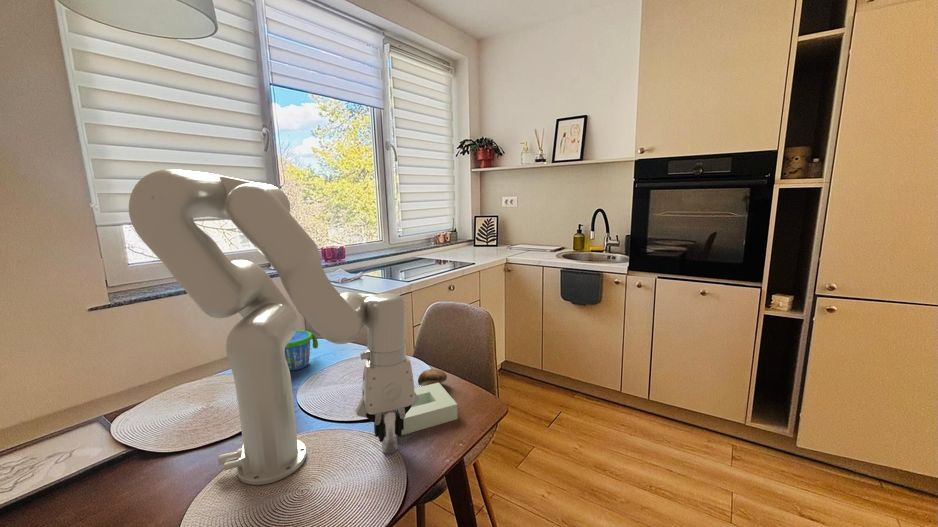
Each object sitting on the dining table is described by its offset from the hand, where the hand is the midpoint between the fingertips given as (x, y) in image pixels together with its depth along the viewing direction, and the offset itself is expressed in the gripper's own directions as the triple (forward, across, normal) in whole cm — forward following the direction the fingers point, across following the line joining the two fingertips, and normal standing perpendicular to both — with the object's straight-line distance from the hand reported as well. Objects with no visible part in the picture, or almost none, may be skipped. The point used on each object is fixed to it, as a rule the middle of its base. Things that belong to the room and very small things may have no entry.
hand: (389, 434), depth 81 cm
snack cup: (+5, -16, +54) cm, 56 cm away
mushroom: (+4, +18, +21) cm, 28 cm away
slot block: (+4, +9, +10) cm, 14 cm away
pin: (+3, 0, 0) cm, 3 cm away
